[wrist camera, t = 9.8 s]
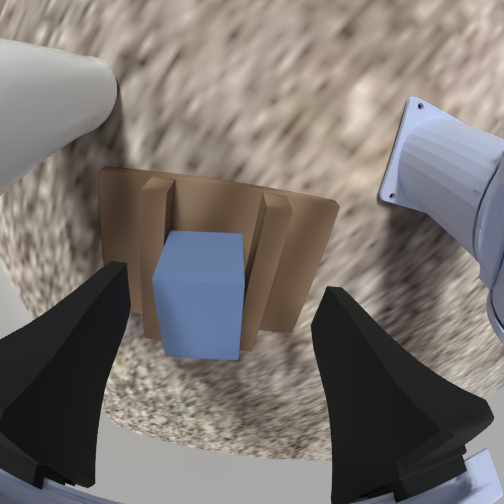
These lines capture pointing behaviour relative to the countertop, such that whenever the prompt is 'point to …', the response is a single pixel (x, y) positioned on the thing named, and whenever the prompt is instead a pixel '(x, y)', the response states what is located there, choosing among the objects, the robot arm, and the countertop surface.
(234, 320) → the shelf block
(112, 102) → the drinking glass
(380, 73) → the countertop surface
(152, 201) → the shelf frame
